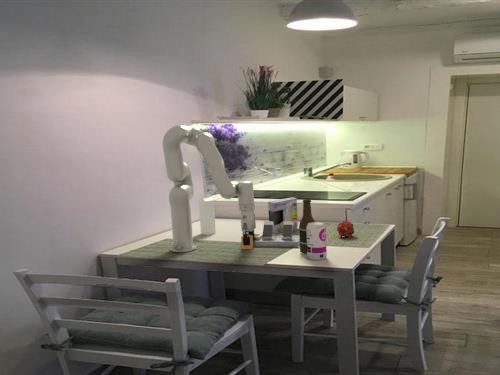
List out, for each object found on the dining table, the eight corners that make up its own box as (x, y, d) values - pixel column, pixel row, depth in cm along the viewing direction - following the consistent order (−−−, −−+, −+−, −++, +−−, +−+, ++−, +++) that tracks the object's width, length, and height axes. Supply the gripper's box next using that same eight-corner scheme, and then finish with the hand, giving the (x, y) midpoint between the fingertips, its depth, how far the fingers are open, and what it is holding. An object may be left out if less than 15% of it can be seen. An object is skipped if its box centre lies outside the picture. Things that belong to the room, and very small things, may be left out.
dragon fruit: (348, 236, 245) (346, 245, 234) (334, 227, 246) (332, 235, 235) (357, 224, 242) (356, 232, 231) (343, 215, 243) (341, 222, 232)
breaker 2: (291, 238, 225) (293, 221, 230) (281, 238, 227) (283, 221, 231) (292, 240, 227) (293, 223, 232) (282, 240, 228) (284, 223, 233)
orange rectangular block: (250, 249, 222) (250, 236, 221) (241, 249, 223) (241, 236, 222) (253, 247, 226) (252, 234, 225) (244, 246, 227) (243, 234, 226)
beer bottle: (315, 249, 216) (314, 197, 213) (318, 253, 208) (316, 200, 206) (298, 250, 216) (297, 198, 213) (301, 254, 208) (299, 201, 205)
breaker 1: (271, 238, 228) (273, 221, 233) (261, 237, 229) (263, 221, 234) (272, 240, 230) (274, 223, 235) (262, 239, 231) (264, 223, 236)
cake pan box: (273, 234, 252) (272, 202, 250) (267, 233, 256) (265, 201, 254) (298, 228, 264) (297, 197, 262) (292, 227, 268) (291, 197, 266)
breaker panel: (298, 247, 221) (297, 239, 221) (241, 246, 228) (240, 238, 228) (302, 240, 235) (302, 232, 234) (248, 239, 242) (248, 232, 241)
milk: (215, 233, 262) (214, 194, 259) (207, 235, 258) (205, 195, 255) (209, 231, 266) (207, 193, 264) (200, 233, 262) (198, 194, 260)
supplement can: (330, 257, 201) (329, 222, 200) (319, 261, 195) (318, 226, 194) (314, 254, 207) (313, 221, 205) (303, 258, 201) (302, 224, 199)
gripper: (249, 210, 213) (252, 247, 215) (258, 204, 230) (260, 238, 231) (233, 210, 215) (236, 247, 217) (243, 204, 231) (246, 238, 233)
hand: (249, 242), depth 224 cm, fingers open, 8 cm apart
